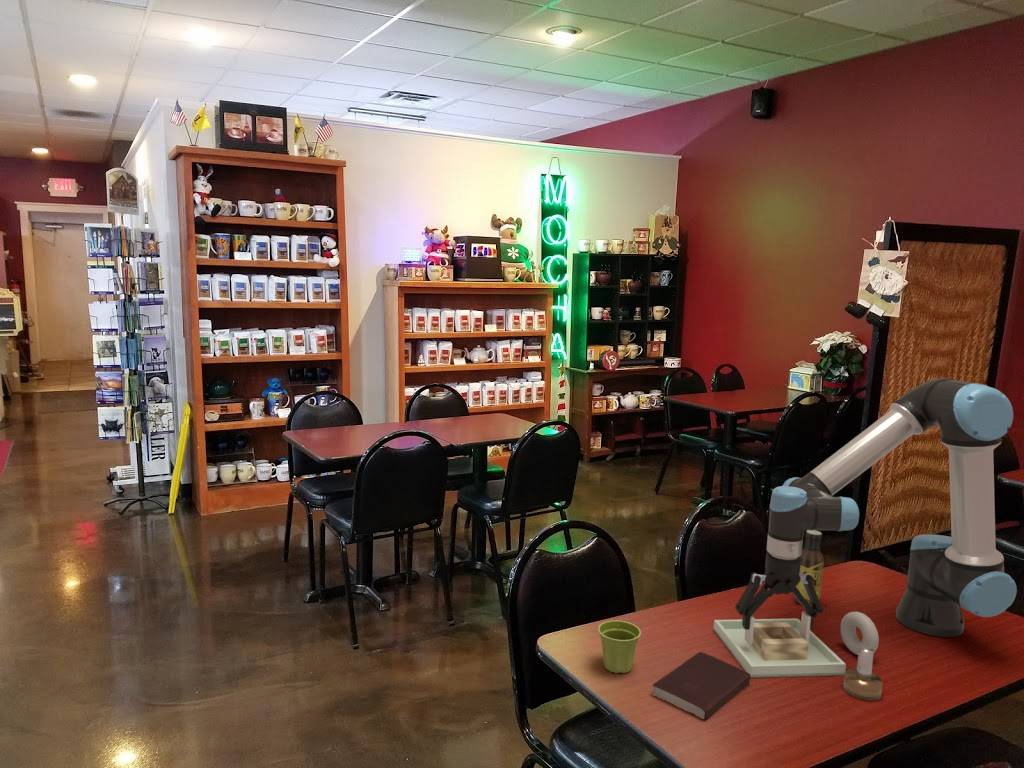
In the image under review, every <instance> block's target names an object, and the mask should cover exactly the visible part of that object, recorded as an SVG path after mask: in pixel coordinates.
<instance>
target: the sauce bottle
mask: <svg viewBox="0 0 1024 768" xmlns="http://www.w3.org/2000/svg"><path fill="white" fill-rule="evenodd" d="M822 538H823V533H822V532H821V531H820V530H805V543H804V548H802V553H801V556H800V558H801V566H800V573H799V575H800V574H803V572H807V573H808V574H809V575H811V576H812V578H813V587H814V589H815V592H816V594H817V596H818V599H819V600H820V599H821V593H822V584H823V582H822V581H823V571H824V564H825V563H824V555H823V554H822V552H821V541H822ZM796 588H797V589H798V590H799V591H800V593H801V594H802V596H803V597H804V598H805V600H806V601H807V602H808V604H809V605H810V606H811V607H812V604H811V601H810V599H809V596H808V594H807V591H806V589H805V587H804V584H803V583H802V582H801V580H800V582H799V583H798V585H797V586H796ZM794 599H795V600H794V601H795V602H796V603H798V604H800V602H799V601H798V600H797V599H796V597H795V596H794Z"/></svg>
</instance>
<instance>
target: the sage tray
mask: <svg viewBox="0 0 1024 768" xmlns="http://www.w3.org/2000/svg"><path fill="white" fill-rule="evenodd" d="M713 621H714V622H713V631H714V632H715V633H716V635H717V636H718V637H719V639H720V640H721V642H722V643H723V644H724V646H726V648H727V649H728V650H729V652H730V653H731V654H732V656H733V657H734V659H736V661H737V662H738V664H739V665H740V666H741V667H742V668H743V671H745V672H747V673H749V674H750V679H751V678H788V677H789V678H791V677H822V676H823V677H826V676H829V677H830V676H845V671H846V668H847V664H846V662H844V661H843V660H842V659H841V658H840V657H839V656H838V655H837V654H836V653H835V652H834V651H833V650H831V648H830V647H828V646H827V645H826V644H825V642H823V641H822V640H821V639H820V638H819V637H818V636H817V635H816V634H815V633H814V632H812V630H810V633H809V643H808V653H807V660H770V661H765V660H764V659H763V658H762V657H761V656H760V654H759V653H758V652H757V651H756V650H755V648H754V647H753V646H752V645H749V644H748V642H747V641H746V640H745V639H744V637H745V629H744V628H743V626H742V619H714V620H713ZM781 622H788V623H789V624H790V625H791V626H792V627H793V628H794V629H795V630H796V631H797V632H798V633H799V634H800V629H801V620H800V619H799V618H759V619H758V618H756V619H755V618H754V623H781Z"/></svg>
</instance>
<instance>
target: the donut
mask: <svg viewBox="0 0 1024 768" xmlns="http://www.w3.org/2000/svg"><path fill="white" fill-rule="evenodd" d="M857 628H858V629H859V630H860V632H861V635H862V639H861V640H860V639H859V637H858V635H857V630H856V629H857ZM877 629H878V628H877V627H876V625H875V623H874V622H873V621H872V619H871V618H870V617H869V616H868V615H866V614H865V613H862V612H860V611H851V612H848V613H846V614H845V615H844V616H843V618H842V619H841V622H840V635H841V638H842V641H843V643H844V645H845V646H846V647H847V649H848V650H849V651H850V652H851V653H853V654H854V655H857V656H858V653H859V647H860V646H868V647H870V648H872V649H873V650H874V653H875V652H876V651H877V649H878V646H879V644H880V642H879V641H880V639H879V632H878V630H877Z"/></svg>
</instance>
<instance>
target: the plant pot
mask: <svg viewBox="0 0 1024 768" xmlns="http://www.w3.org/2000/svg"><path fill="white" fill-rule="evenodd" d="M597 627H598V628H597V632H598V634H599V636H600V639H601V647H602V648H601V649H602V658H603V666H604V668H605V670H607V671H608V670H609V672H611V673H613V672H614V673H613V674H618V673H622V674H626V673H629V672H630V671H631V670H632V668H633V663H634V658H635V653H636V648H637V644H638V641H639V638H640V637H641V636H642V635H641V634H642V631H641V629H640V628H639V626H637V625H635V624H634V623H632V622H628V621H624V620H616V619H615V620H608V621H604V622H602V623H600V624H599V625H598V626H597Z"/></svg>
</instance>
